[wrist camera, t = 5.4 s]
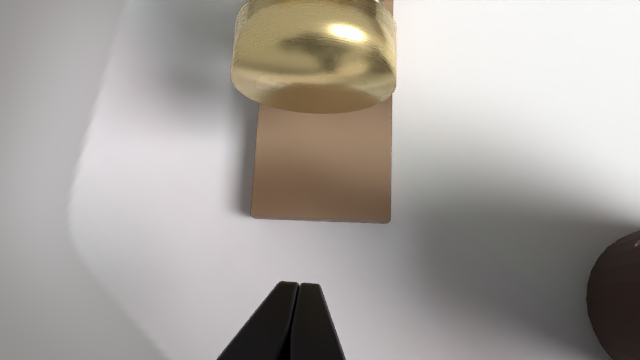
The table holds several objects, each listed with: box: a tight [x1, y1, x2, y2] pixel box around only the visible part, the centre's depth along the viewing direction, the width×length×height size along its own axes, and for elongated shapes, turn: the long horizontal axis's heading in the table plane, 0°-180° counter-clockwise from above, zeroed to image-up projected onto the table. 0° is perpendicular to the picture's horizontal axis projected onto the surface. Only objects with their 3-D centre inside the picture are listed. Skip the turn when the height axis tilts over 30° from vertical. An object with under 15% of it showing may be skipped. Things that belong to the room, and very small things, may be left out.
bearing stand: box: [251, 0, 393, 223], centre depth 17 cm, size 13×6×10 cm, turn 177°
